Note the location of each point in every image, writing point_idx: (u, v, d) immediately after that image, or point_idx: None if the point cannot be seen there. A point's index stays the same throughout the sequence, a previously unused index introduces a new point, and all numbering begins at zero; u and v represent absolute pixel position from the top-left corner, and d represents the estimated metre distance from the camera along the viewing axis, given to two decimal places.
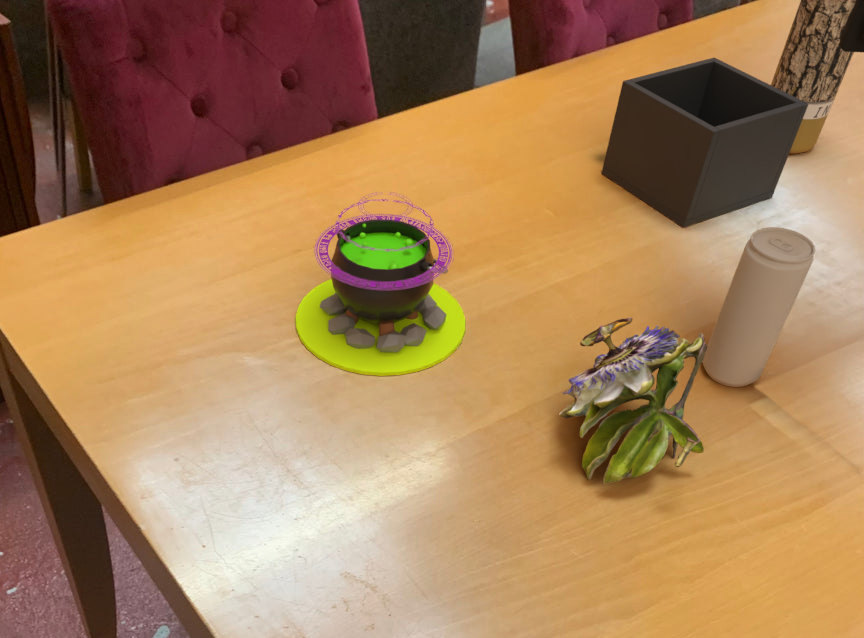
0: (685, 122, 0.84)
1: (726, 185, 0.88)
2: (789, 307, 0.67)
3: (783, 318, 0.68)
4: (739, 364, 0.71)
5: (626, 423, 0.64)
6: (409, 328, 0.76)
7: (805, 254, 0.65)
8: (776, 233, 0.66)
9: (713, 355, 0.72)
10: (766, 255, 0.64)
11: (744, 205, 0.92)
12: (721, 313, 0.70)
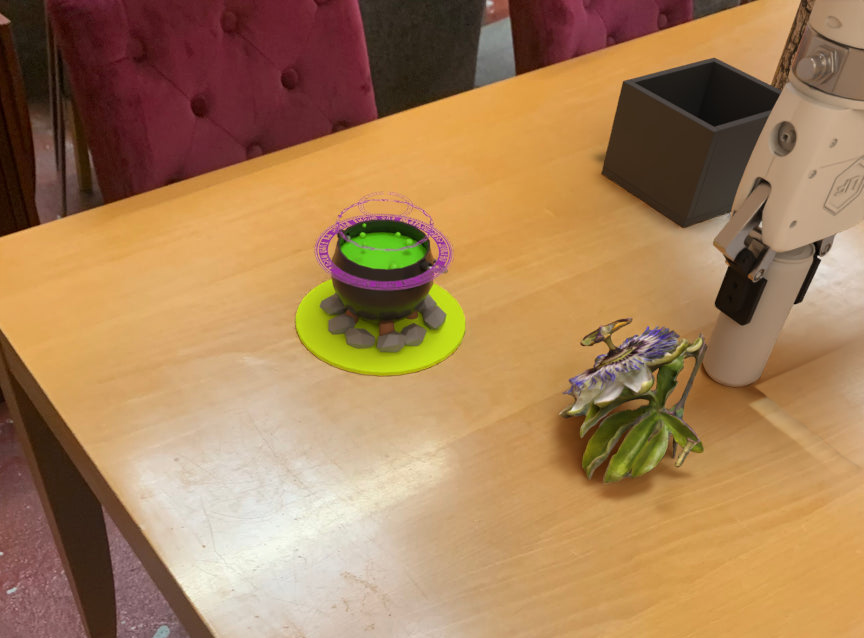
0: (685, 122, 0.84)
1: (726, 185, 0.88)
2: (789, 307, 0.67)
3: (783, 318, 0.68)
4: (739, 364, 0.71)
5: (626, 423, 0.64)
6: (409, 328, 0.76)
7: (804, 254, 0.65)
8: None
9: (713, 355, 0.72)
10: None
11: None
12: (721, 313, 0.70)
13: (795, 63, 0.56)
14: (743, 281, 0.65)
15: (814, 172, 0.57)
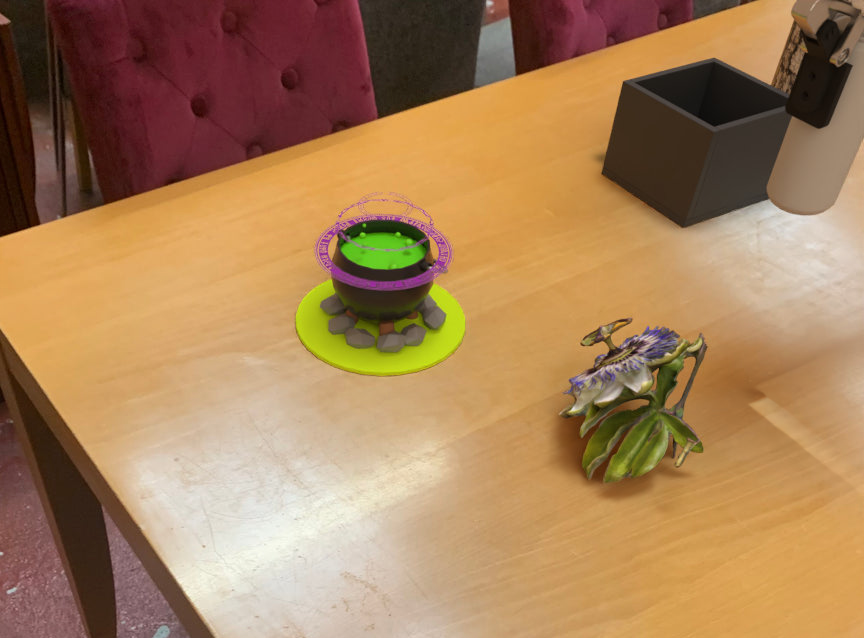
0: (685, 122, 0.84)
1: (726, 185, 0.88)
2: None
3: None
4: (813, 184, 0.61)
5: (626, 423, 0.64)
6: (409, 328, 0.76)
7: None
8: None
9: (781, 177, 0.63)
10: None
11: (744, 205, 0.92)
12: (791, 124, 0.61)
13: None
14: (823, 68, 0.55)
15: None
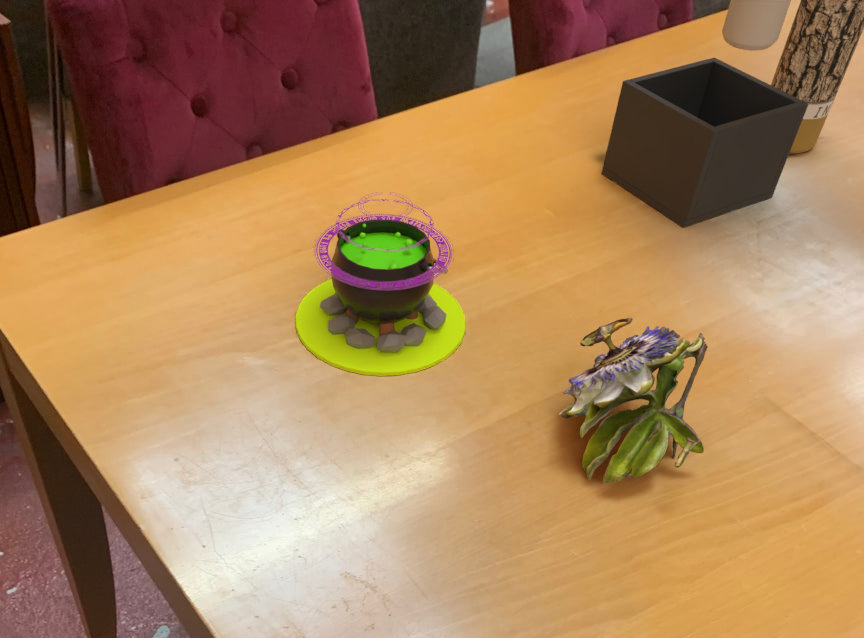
0: (685, 122, 0.84)
1: (726, 185, 0.88)
2: None
3: None
4: (757, 20, 0.76)
5: (626, 423, 0.64)
6: (409, 328, 0.76)
7: None
8: None
9: (732, 18, 0.77)
10: None
11: (744, 205, 0.92)
12: None
13: None
14: None
15: None
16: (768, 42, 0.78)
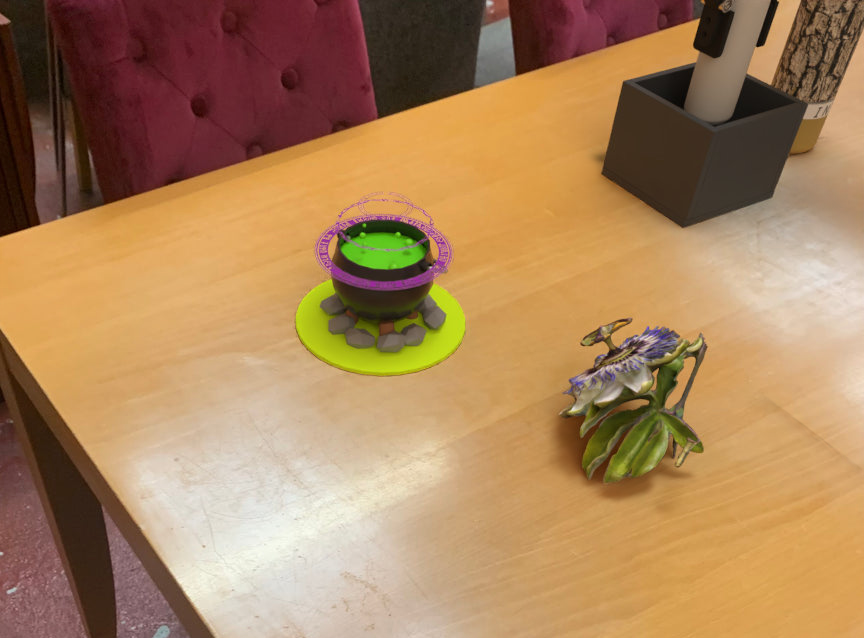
0: (685, 122, 0.84)
1: (726, 185, 0.88)
2: (753, 42, 0.83)
3: (748, 53, 0.83)
4: (713, 100, 0.86)
5: (626, 423, 0.64)
6: (409, 328, 0.76)
7: None
8: None
9: (692, 96, 0.88)
10: None
11: (744, 205, 0.92)
12: (698, 57, 0.86)
13: None
14: (715, 14, 0.80)
15: None
16: (723, 118, 0.88)
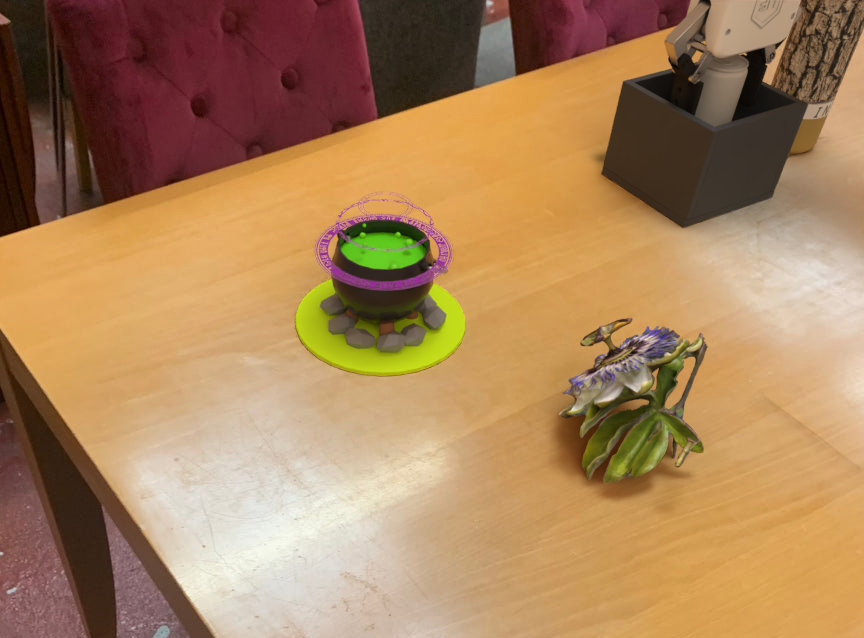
0: (685, 122, 0.84)
1: (726, 185, 0.88)
2: (730, 113, 0.88)
3: None
4: None
5: (626, 423, 0.64)
6: (409, 328, 0.76)
7: (740, 66, 0.85)
8: None
9: None
10: (711, 67, 0.85)
11: (744, 205, 0.92)
12: None
13: None
14: (685, 85, 0.84)
15: None
16: None
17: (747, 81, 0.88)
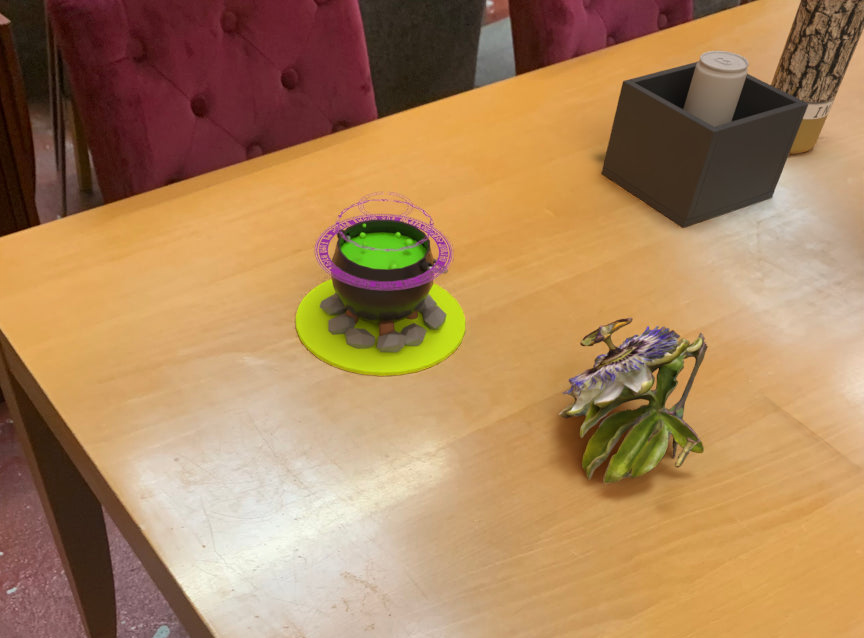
0: (685, 122, 0.84)
1: (726, 185, 0.88)
2: (730, 113, 0.88)
3: None
4: None
5: (626, 423, 0.64)
6: (409, 328, 0.76)
7: (740, 66, 0.85)
8: (720, 54, 0.87)
9: None
10: (711, 67, 0.85)
11: (744, 205, 0.92)
12: None
13: None
14: None
15: None
16: None
17: None
